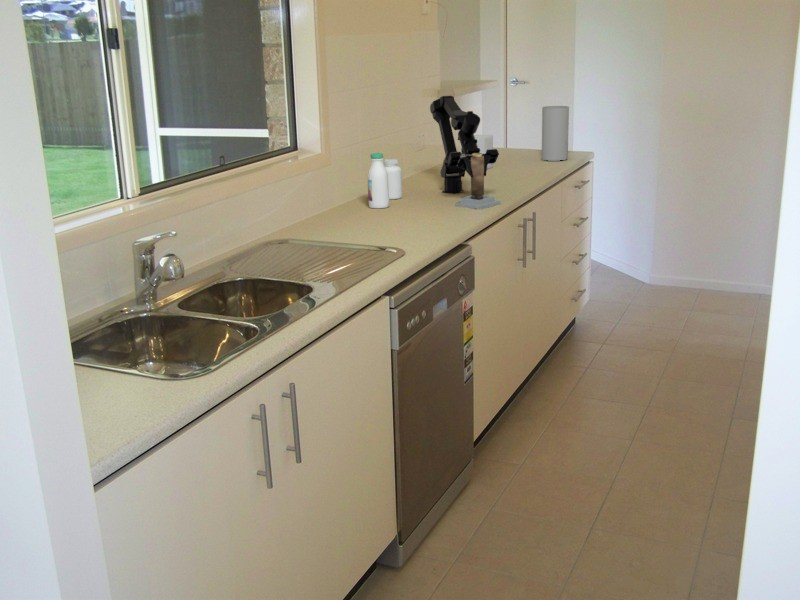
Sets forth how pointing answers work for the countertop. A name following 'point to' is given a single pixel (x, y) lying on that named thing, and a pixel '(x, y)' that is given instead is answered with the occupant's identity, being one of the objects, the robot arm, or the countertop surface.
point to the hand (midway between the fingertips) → (478, 176)
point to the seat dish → (477, 202)
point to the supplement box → (485, 144)
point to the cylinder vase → (555, 133)
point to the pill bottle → (394, 178)
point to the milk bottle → (378, 183)
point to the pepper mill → (477, 174)
